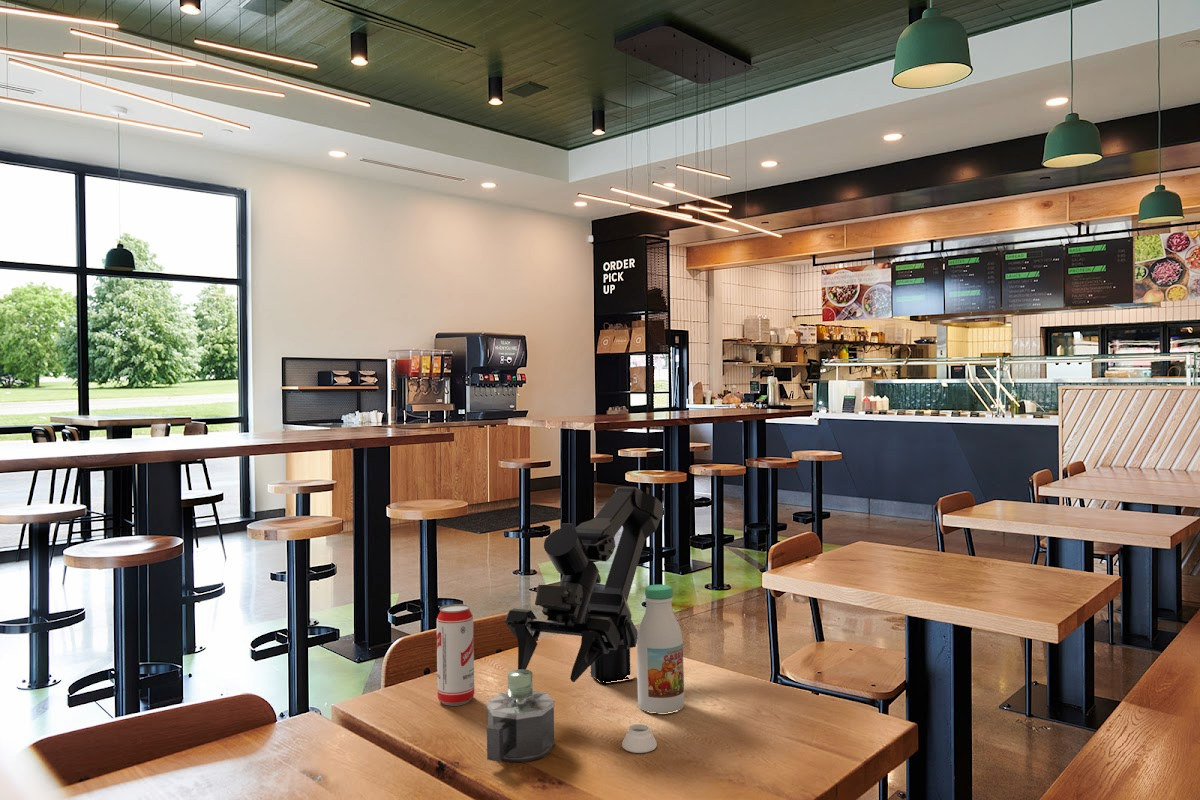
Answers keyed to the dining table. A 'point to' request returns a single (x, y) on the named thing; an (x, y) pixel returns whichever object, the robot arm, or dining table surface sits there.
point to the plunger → (520, 684)
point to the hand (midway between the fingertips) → (545, 677)
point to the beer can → (455, 655)
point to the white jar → (639, 739)
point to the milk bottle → (660, 654)
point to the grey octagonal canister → (520, 727)
